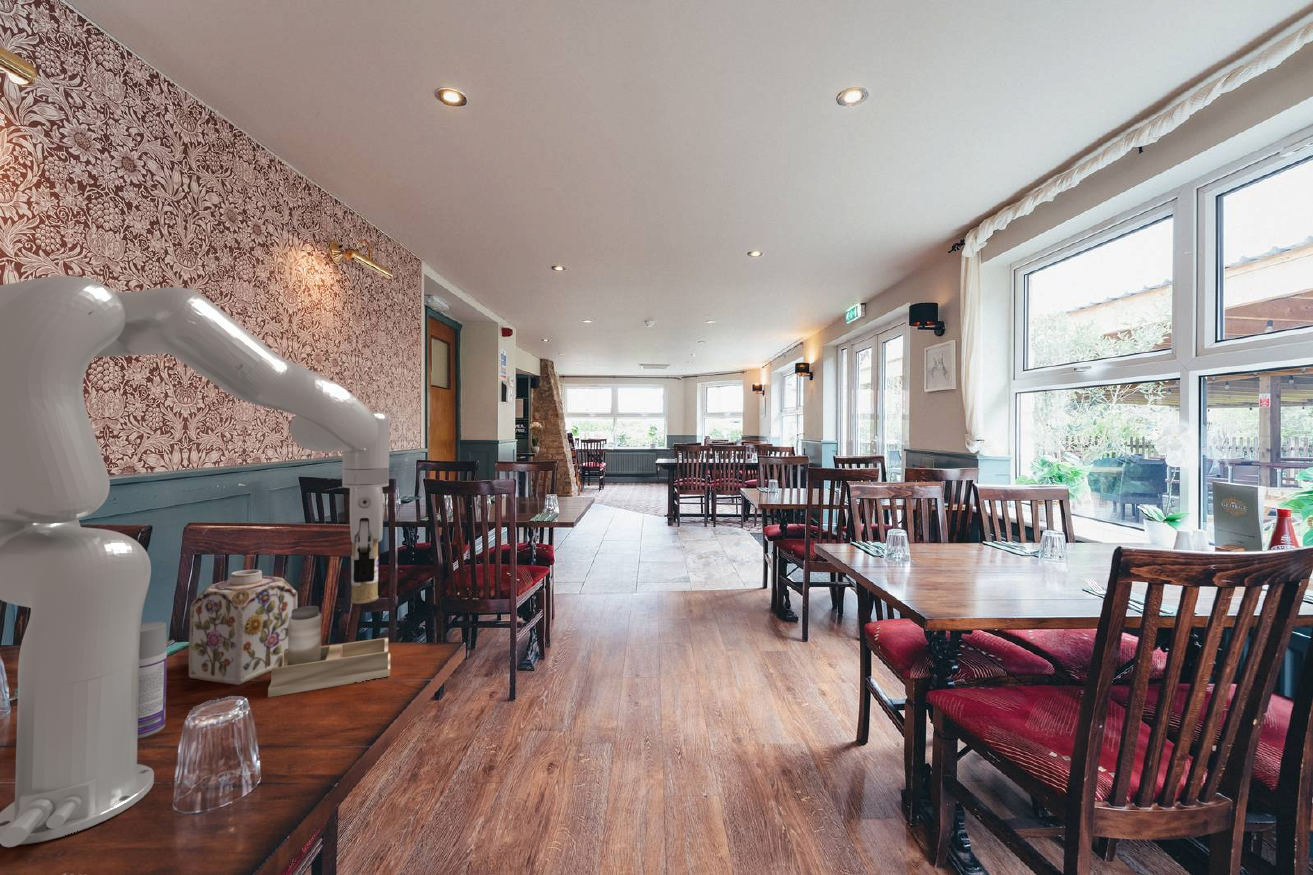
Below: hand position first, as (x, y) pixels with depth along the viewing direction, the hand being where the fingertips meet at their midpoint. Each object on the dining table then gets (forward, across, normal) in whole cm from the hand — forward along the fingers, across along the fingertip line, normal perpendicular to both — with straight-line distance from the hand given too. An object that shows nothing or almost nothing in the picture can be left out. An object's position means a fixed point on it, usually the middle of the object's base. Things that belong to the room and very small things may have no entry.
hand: (364, 577), depth 98 cm
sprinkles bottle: (+5, 0, 0) cm, 5 cm away
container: (+17, -9, +28) cm, 34 cm away
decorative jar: (+18, +11, +20) cm, 29 cm away
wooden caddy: (+17, 0, +5) cm, 18 cm away
